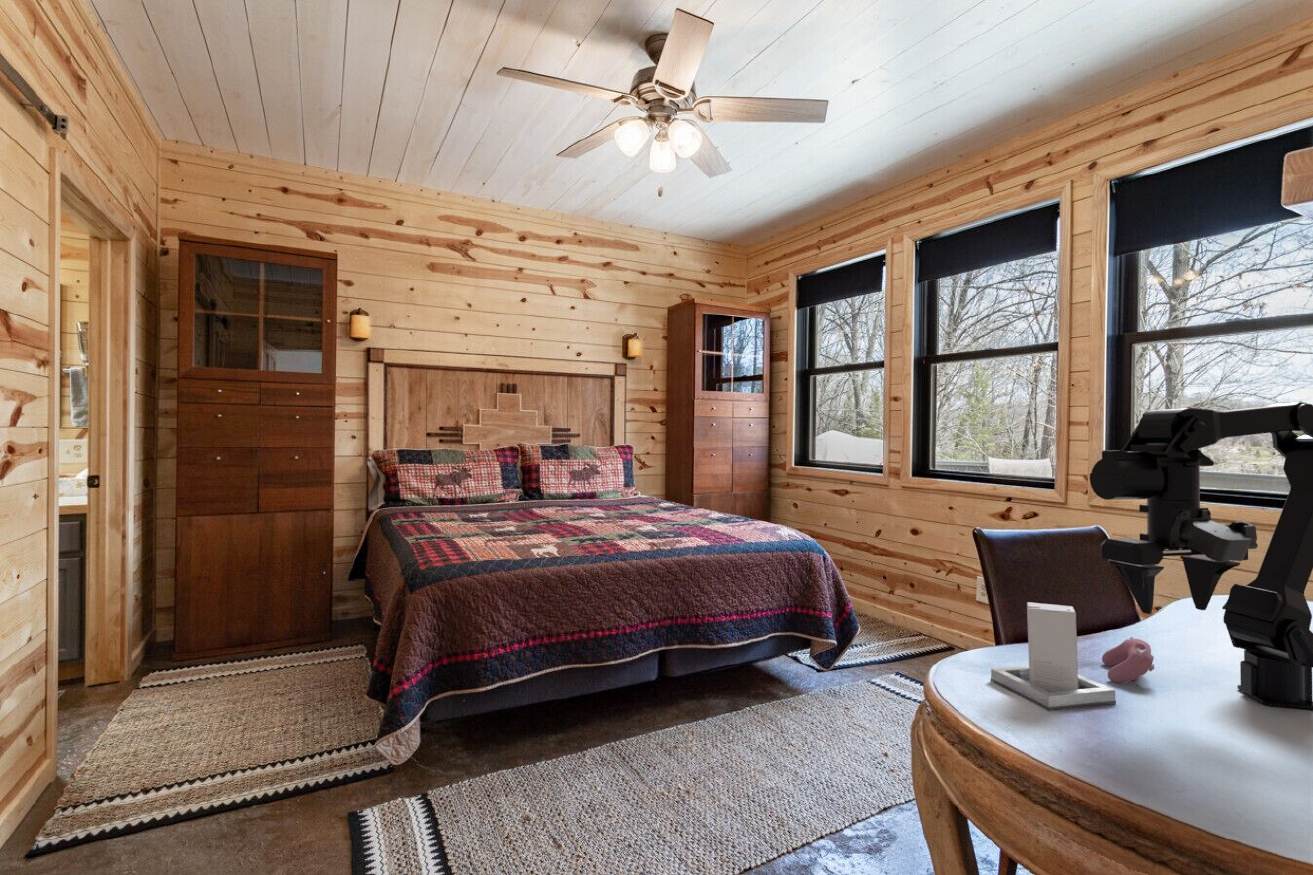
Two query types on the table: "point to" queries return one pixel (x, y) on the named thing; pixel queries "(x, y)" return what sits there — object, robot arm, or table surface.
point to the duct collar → (1083, 697)
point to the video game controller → (1128, 660)
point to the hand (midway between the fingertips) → (1174, 611)
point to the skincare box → (1052, 647)
